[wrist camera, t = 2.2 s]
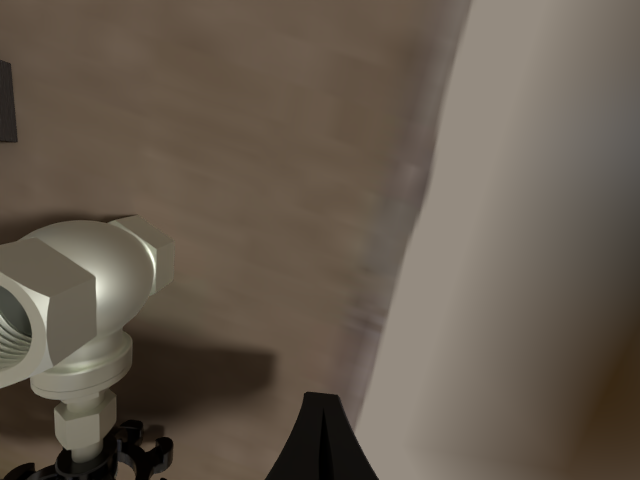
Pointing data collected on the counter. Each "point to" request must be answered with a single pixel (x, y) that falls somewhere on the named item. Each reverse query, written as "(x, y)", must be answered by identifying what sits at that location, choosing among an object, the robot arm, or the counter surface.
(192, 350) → the counter surface
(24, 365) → the valve
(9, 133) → the pipe stubs
